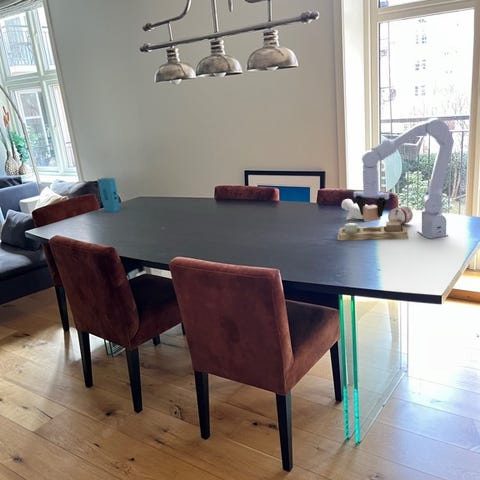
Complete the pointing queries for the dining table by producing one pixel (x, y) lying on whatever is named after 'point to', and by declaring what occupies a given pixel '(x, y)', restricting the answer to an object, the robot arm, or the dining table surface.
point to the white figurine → (352, 209)
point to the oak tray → (372, 233)
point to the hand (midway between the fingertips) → (371, 215)
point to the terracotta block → (370, 213)
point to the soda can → (400, 215)
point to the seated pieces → (389, 226)
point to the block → (108, 194)
